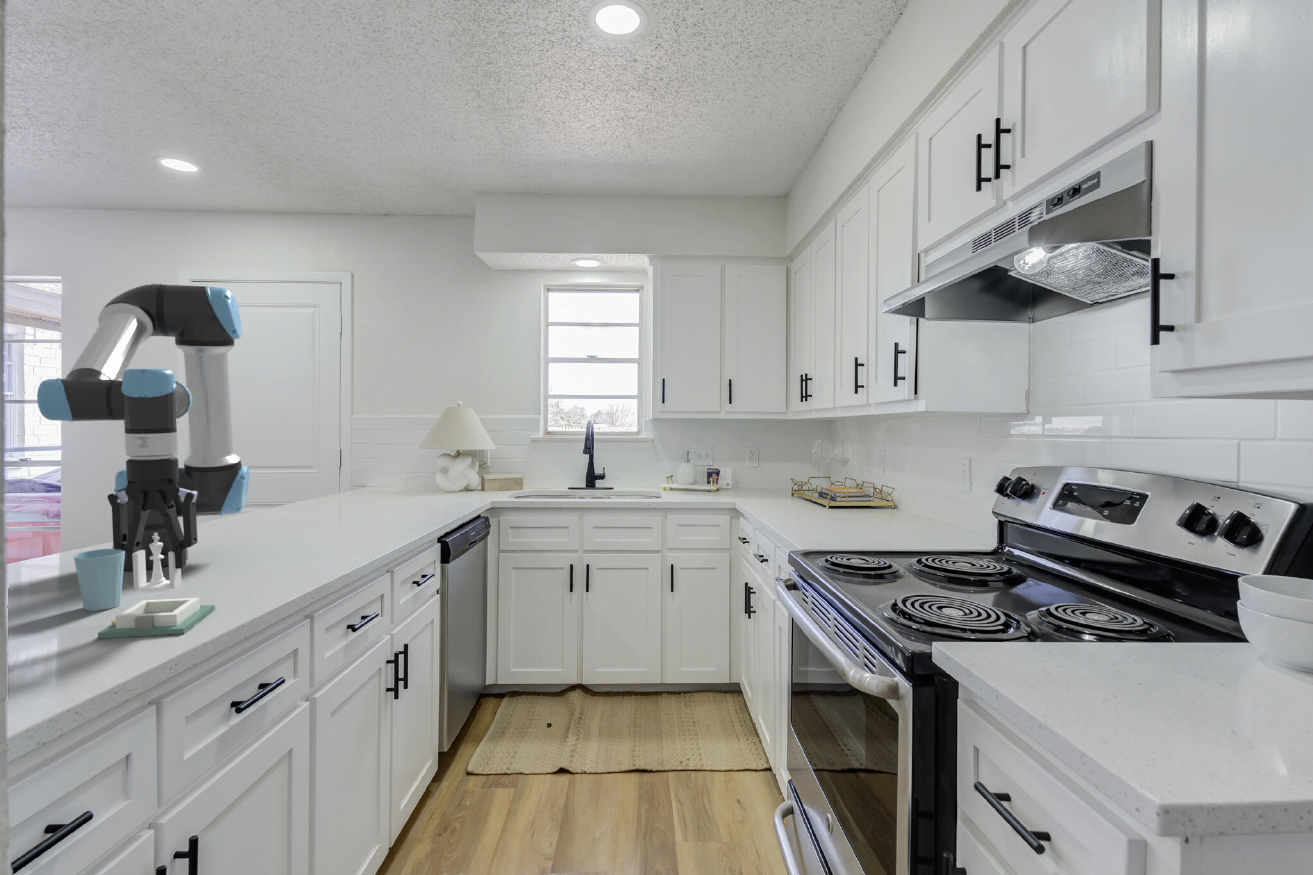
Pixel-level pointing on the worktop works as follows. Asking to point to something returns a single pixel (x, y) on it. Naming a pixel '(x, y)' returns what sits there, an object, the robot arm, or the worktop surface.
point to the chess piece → (156, 569)
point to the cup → (100, 578)
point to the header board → (157, 618)
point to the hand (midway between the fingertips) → (158, 586)
